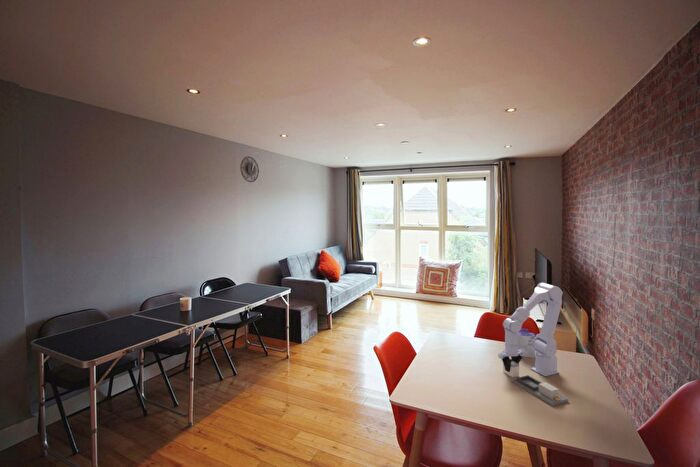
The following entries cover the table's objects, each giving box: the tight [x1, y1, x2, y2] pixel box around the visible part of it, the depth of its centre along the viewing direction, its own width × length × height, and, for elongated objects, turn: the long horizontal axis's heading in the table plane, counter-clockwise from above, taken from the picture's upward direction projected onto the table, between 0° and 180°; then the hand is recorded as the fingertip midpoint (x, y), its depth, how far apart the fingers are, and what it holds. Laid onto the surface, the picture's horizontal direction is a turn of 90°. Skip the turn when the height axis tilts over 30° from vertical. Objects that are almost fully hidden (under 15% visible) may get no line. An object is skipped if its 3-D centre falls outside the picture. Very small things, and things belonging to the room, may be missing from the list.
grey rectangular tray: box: [512, 374, 569, 407], centre depth 139 cm, size 9×20×5 cm, turn 20°
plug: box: [502, 361, 520, 378], centre depth 155 cm, size 4×6×6 cm, turn 20°
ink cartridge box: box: [518, 327, 536, 359], centre depth 175 cm, size 10×6×14 cm, turn 72°
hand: (511, 370), depth 155 cm, fingers closed on plug, 4 cm apart
